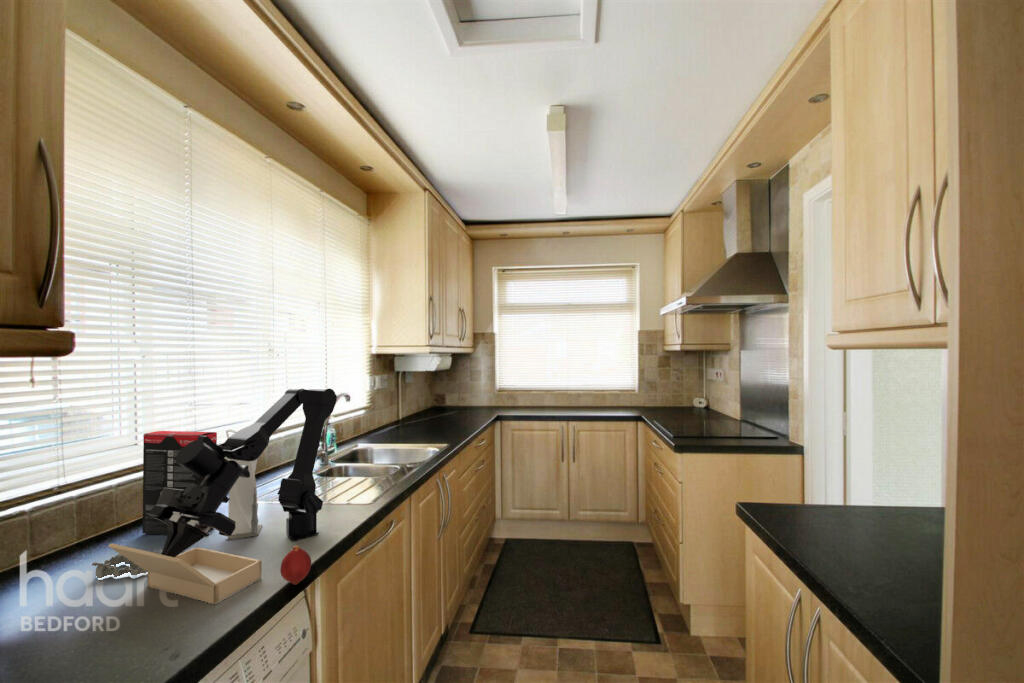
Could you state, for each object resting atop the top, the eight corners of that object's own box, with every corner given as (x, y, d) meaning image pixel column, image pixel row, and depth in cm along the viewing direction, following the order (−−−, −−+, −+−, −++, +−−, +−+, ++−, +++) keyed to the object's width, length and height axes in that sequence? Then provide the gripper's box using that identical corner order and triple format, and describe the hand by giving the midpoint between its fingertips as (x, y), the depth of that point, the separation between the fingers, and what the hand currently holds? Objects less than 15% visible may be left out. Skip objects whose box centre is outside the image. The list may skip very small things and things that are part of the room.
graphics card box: (218, 527, 121) (219, 429, 121) (198, 538, 114) (199, 434, 114) (162, 525, 122) (163, 429, 123) (139, 536, 115) (140, 433, 116)
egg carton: (88, 583, 92) (88, 563, 93) (118, 565, 100) (118, 547, 100) (139, 581, 93) (139, 562, 93) (166, 564, 100) (166, 546, 100)
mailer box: (196, 564, 100) (196, 547, 100) (261, 579, 93) (261, 560, 93) (147, 586, 90) (147, 567, 90) (215, 605, 83) (215, 584, 83)
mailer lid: (111, 543, 84) (108, 546, 84) (181, 559, 78) (178, 562, 77) (147, 567, 90) (145, 570, 90) (215, 584, 83) (213, 587, 83)
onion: (282, 579, 93) (282, 541, 93) (312, 574, 95) (312, 537, 95) (278, 593, 87) (278, 553, 87) (309, 588, 89) (310, 548, 89)
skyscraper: (220, 541, 112) (221, 432, 113) (228, 529, 119) (229, 427, 120) (258, 535, 115) (258, 430, 116) (262, 524, 123) (263, 425, 123)
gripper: (156, 465, 92) (94, 540, 81) (219, 473, 85) (160, 556, 75) (196, 489, 99) (143, 561, 89) (256, 498, 93) (207, 576, 83)
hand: (161, 563), depth 84 cm, fingers closed, pressing on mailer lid
